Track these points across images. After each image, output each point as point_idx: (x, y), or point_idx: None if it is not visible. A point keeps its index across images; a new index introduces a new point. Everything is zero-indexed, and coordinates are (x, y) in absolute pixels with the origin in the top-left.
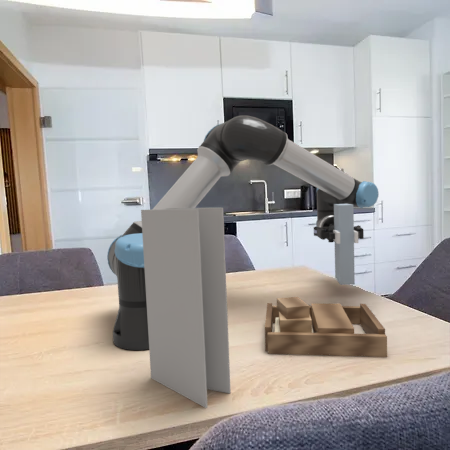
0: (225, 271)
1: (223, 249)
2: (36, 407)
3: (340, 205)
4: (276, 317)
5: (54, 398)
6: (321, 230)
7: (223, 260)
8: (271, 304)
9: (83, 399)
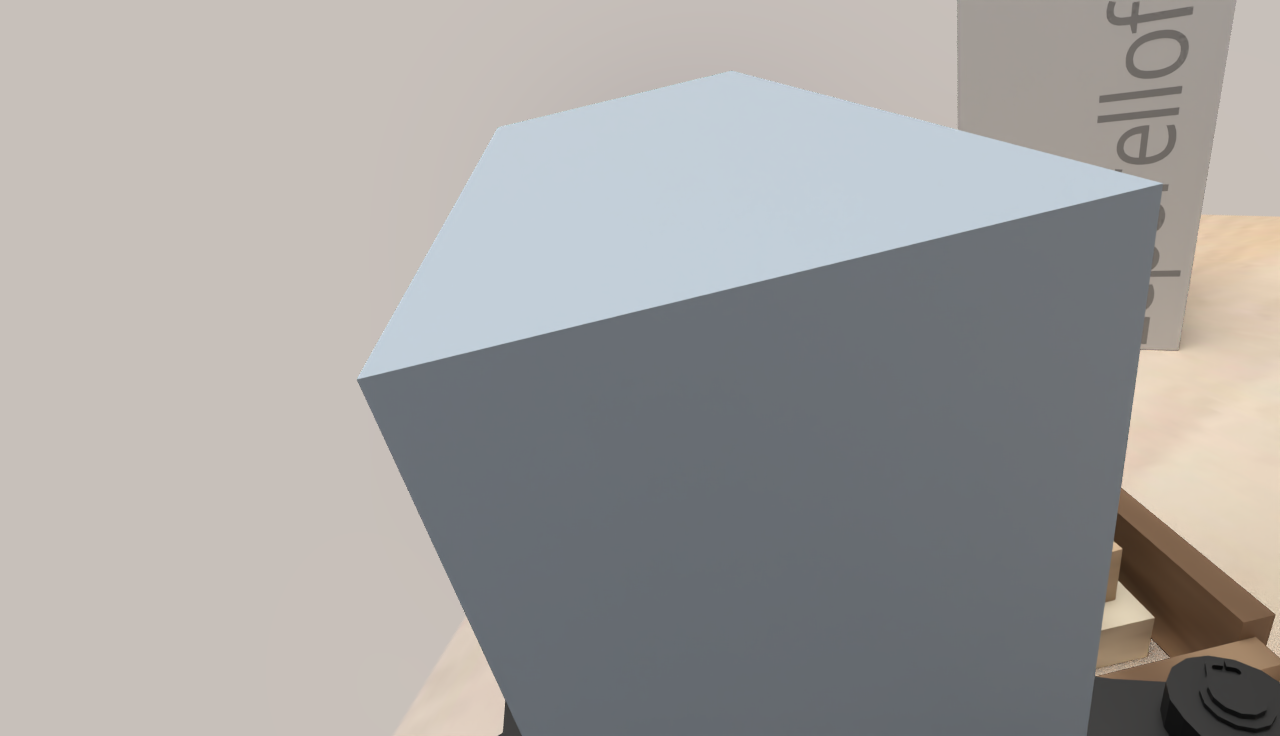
0: (958, 84)
1: (959, 26)
2: (1244, 232)
3: (703, 82)
4: (1149, 618)
5: (1256, 244)
6: (1253, 668)
7: (959, 54)
8: (1222, 599)
9: (1201, 258)
